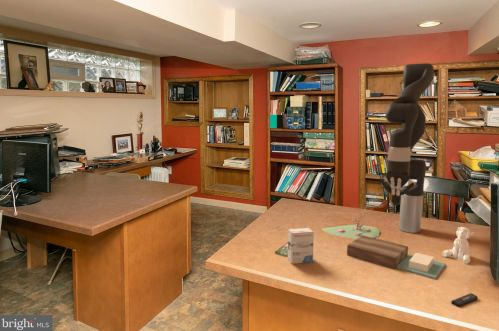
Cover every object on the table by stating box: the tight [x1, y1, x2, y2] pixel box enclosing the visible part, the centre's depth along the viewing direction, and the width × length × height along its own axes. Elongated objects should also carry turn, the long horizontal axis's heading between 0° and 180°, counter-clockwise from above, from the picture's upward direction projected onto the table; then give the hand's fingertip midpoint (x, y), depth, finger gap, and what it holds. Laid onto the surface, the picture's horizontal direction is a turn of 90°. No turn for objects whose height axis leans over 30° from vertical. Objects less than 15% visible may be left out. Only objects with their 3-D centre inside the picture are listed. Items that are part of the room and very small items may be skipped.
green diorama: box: [321, 215, 380, 240], centre depth 158 cm, size 25×21×9 cm
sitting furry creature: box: [441, 226, 475, 265], centre depth 130 cm, size 10×9×12 cm
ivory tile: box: [409, 252, 435, 272], centre depth 122 cm, size 9×6×2 cm, turn 140°
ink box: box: [287, 227, 315, 265], centre depth 128 cm, size 8×5×12 cm, turn 100°
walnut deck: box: [346, 235, 409, 269], centre depth 132 cm, size 14×18×4 cm
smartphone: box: [274, 242, 288, 258], centre depth 139 cm, size 7×1×15 cm
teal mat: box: [395, 254, 446, 280], centre depth 123 cm, size 14×13×1 cm
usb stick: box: [450, 293, 479, 308], centre depth 100 cm, size 10×3×2 cm, turn 116°
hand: (396, 204), depth 129 cm, fingers closed
